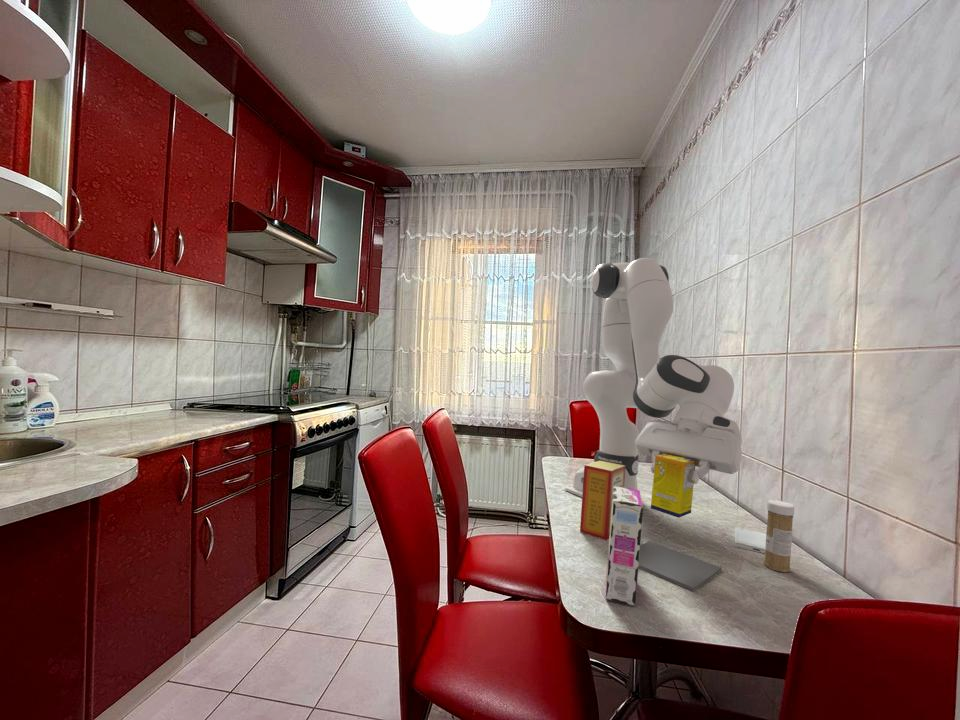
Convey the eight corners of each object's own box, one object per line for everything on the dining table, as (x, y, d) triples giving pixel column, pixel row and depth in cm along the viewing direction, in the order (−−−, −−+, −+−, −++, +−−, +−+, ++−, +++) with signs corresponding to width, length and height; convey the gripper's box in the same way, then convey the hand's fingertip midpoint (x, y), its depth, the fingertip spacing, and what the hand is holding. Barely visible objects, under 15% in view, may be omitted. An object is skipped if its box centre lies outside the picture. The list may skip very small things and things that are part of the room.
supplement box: (662, 504, 89) (667, 453, 89) (691, 513, 85) (697, 459, 85) (649, 508, 85) (654, 454, 85) (679, 518, 81) (685, 461, 81)
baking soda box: (595, 522, 106) (600, 458, 107) (621, 529, 102) (625, 464, 103) (579, 531, 99) (584, 463, 99) (606, 540, 95) (611, 469, 95)
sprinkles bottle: (763, 560, 90) (766, 497, 90) (789, 567, 88) (793, 502, 88) (764, 568, 86) (768, 502, 86) (792, 575, 84) (795, 508, 84)
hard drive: (734, 526, 108) (735, 541, 97) (773, 535, 103) (778, 551, 93) (734, 533, 108) (734, 548, 97) (773, 542, 103) (778, 559, 93)
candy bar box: (637, 608, 67) (644, 505, 68) (605, 600, 69) (611, 500, 69) (634, 577, 78) (640, 488, 78) (606, 571, 80) (612, 484, 80)
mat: (616, 558, 86) (616, 555, 86) (649, 543, 95) (649, 540, 95) (693, 591, 74) (693, 587, 74) (721, 570, 84) (722, 567, 84)
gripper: (645, 409, 98) (620, 455, 91) (745, 423, 82) (724, 479, 76) (653, 427, 100) (629, 473, 94) (751, 444, 85) (731, 500, 79)
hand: (672, 476), depth 85 cm, fingers closed on supplement box, 6 cm apart
